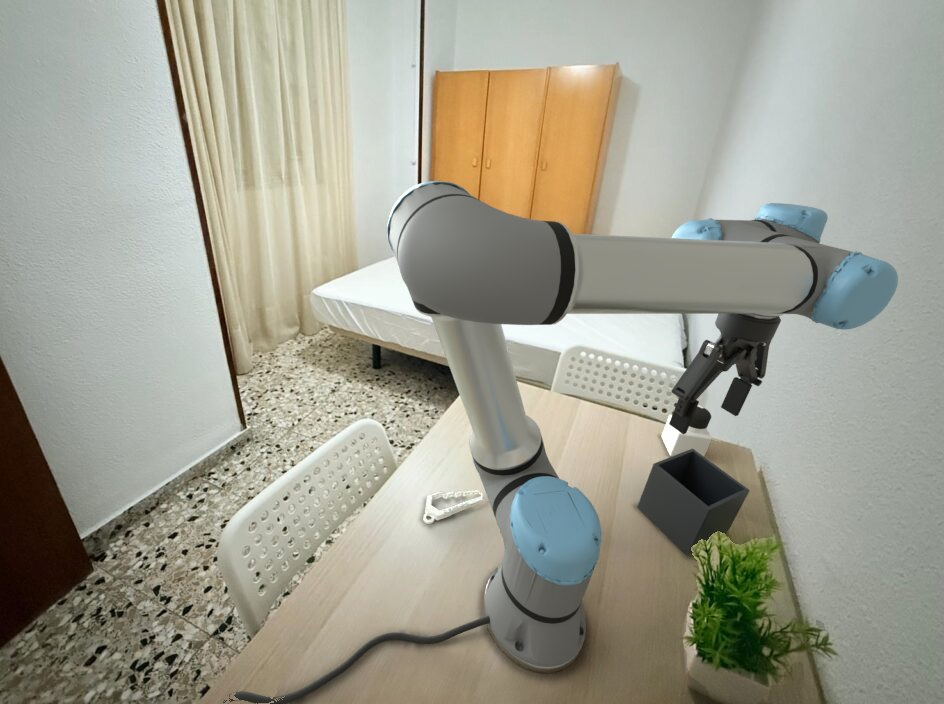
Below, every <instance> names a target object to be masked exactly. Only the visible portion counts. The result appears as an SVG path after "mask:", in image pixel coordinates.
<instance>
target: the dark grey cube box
mask: <svg viewBox="0 0 944 704" xmlns="http://www.w3.org/2000/svg"><path fill="white" fill-rule="evenodd" d="M750 491H751V490H750V489H749V488H747V487H746V486H745V485H744V484H742V483H741V482H740V481H738V480H736V479H735V478H734V477H733V476H731V475H730V474H728V473H727V472H726V471H724V470H723V469H722V468H720V467H719V466H717V464H715V463H713V462H712V461H711V460H709V459H708V458H706V456H705V457H704V456H702V455H701V454H699V453H698V452H697V451H695V450H694V449H690V450H687V451H685V452H682V453H680V454H677V455H675V456H669V457H667V458H663V459H661V460H659V461H657V462H654V463H653V464H652V467H651V469H650V473H649V474H648V477H647V480H646V483H645V485H644V488H643V491H642V493H641V496H640V498H639V501H638V504H637V506H636V508H637V509H638V510H639V511H640V512H641V513H642V514H643V515H644V516H645V517H646V518H647V519H648V520H649V521H650V522H651V523H652V524H653V525H654V526H655V527H656V528H657V529H658V530H659V531H661V532H662V534H664V536H665V537H666V538H668V540H670V541H671V542H672V544H674V545H675V546H676V547H677V548H678V549H679V551H680V552H682V553H683V554H684V555H685V556H686V557H687V556H690V555H691V554H693V553H694V552H692V551H691V547H692V546H693V545H695V544H697V543H698V541H699V540H701V539H703V540H706V541H707V540H708V539H709V537H710V536H711V535H712V534H713V533H715V532H717V531H720V532H722V533H725V534H726V535H727V534H728V532H729V530H730V529H731V526H732V525H733V524H734V521H735V519H736V517H737V516H738V514H739V512H740V510H741V508H742V506H743V505H744V502H745V501H746V498H747V497H748V495H749V493H750Z"/></svg>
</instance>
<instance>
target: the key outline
mask: <svg viewBox="0 0 944 704" xmlns="http://www.w3.org/2000/svg"><path fill="white" fill-rule="evenodd" d="M478 494H479V495H480V496H478V497H475V498H472V499H469V500H466V501H463V502H460V503H458V504H455V505H452V506H449V507H446V508H444V509H438V508H436V507H435V506H433V505H432V502H433V501H434V500H438V499H440V498H443V499H444V500H447V499H449V498H452V497H453V498H454V499H457V498H458V497H461V496H462V497H465V496H468V495H469V496H470V495H478ZM483 501H484V493H483V492H482V491H479V490H478V489H473V490H472V489H471V490H465V491H462V490H459V491H456V492H454V491H453V490H451V491H448V492H446V493H444V492H443V491H437V492H434V493H430V494H428V495H427V496H426V501H425V507H424V514H423V516H422V517H423V518H422V520H423V522H424V523H425V524H427V525H431V524H433V523H434V522H435V521H440V520H443V519H446V518H448V517H451V516H452V515H454V514H458V513H459V512H462V511H464V510H466V509H469V508H470V507H472V506H475V505H478V504H480V503H483ZM428 517H430V518H431V519H427V518H428Z"/></svg>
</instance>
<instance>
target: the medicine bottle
mask: <svg viewBox="0 0 944 704" xmlns="http://www.w3.org/2000/svg"><path fill="white" fill-rule="evenodd" d="M672 415H673V414H668V417H667V420H666V422H665V425H664V429H663V430H662V433H661V435H660V436H661V439H662V441H663V443H664V446H665V448H666V450H667V452H668V455H669V457H672V456H675V455H677V454H680V453H682V452H685V451H687V450H690V449H694V450H695V451H697V452H698V453H699V454H701V455H702V456H704V457H705V458H706V454H707V453H708V450H709V448H710V446H711V443H712V441H713V437H712V435H711V434H710V432H709V431H708V429H707V428H708V427H709V424H710V421H711V419H712V414H711V412H710V411H709V410H708V409H707V408H705V407H704V406H702V405H700V404H698V406H697V408H696V411H695V413H694V416H693V418H692V420H691V423H690V425H689V428H688V430H687V432H686V433H685V434H682V433H681V432H679V431H678V430H676V429H675V428H674V427H672V426H671V425H669V422H670V420H671V417H672Z"/></svg>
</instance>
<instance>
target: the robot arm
mask: <svg viewBox="0 0 944 704" xmlns="http://www.w3.org/2000/svg"><path fill="white" fill-rule="evenodd" d="M828 218H829V217H828V214H827V212H826V211H825V210H822V209H820V208H817V207H812V206H808V205H801V204H792V203H780V202H770V203H765V204H764V205H762V206H761V207H760V208H759V211H758V212H757V214H756V215H755V216H754V219H749V220H748V219H714V218H706V219H695V220H689V221H687V222H684V223H683V224H681V225H680V226H679V227H677V229H676V230H675V231H674V232H673V234H672V236H671V237H656V236H655V237H654V236H635V235H634V236H633V235H632V236H631V235H608V234H588V233H572V232H571V230H570V229H569V227H568V226H567V225H566V224H564V223H562V222H560V221H555V220H552V221H551V220H538V219H531V218H526V217H522V216H519V215H515V214H513V213H512V214H511V213H508V212H506V211H503V210H501V209H498V208H495V207H493V206H492V205H489V204H488V203H486V202H484V201H482V200H480V199H478V198H476V197H475V196H473V195H471V193H470V192H469V191H467V190H466V189H465V188H464V187H462V186H460V185H459V184H456V183H454V182H450V181H443V180H441V181H439V180H432V181H431V180H429V181H425V182H421V183H418V184H416V185H414V186H411V187H410V188H409V189H407V190H406V191H405V192H403V193H402V194H401V195H400V196H399V198H398V199H397V200H396V202H395V203H394V205H393V207H392V208H391V211H390V214H389V217H388V222H387V230H386V235H387V236H386V237H387V240H388V244H389V247H390V248H391V250H392V252H393V255H394V256H395V259H396V260H395V261H396V262H397V266H398V269H399V273H400V275H401V276H400V277H401V279H402V281H403V282H404V285H405V286H406V288H407V290H408V293H409V295H410V298H411V301H412V303H413V307H414V308H415V310H416V311H417V312H418V313H420V314H421V315H424V316H427V317H430V318H431V320H432V324H433V326H434V328H435V331H436V334H437V337H438V339H439V343H440V345H441V347H442V351H443V353H444V356H445V359H446V361H447V364H448V366H449V369H450V370H449V371H450V372H451V375H452V378H453V380H454V383H455V386H456V389H457V391H458V395H459V397H460V399H461V403H462V405H463V408H464V411H465V413H466V416H467V419H468V421H469V425H470V427H471V429H472V431H471V433H470V436H469V441H468V448H469V452H470V454H471V456H472V461H473V464H474V467H475V470H476V471H477V473H478V476H479V478H480V481H481V483H482V486H483V488H484V489H483V490H484V491H485V494H486V497H487V499H488V502H489V505H490V507H491V510H492V513H493V517H494V518H495V521H496V524H497V526H498V530H499V533H500V534H501V538H502V541H503V545H504V552H503V558H502V562H501V563H500V564H499V565H498V566H497V567H496V568H495V570H494V571H493V572H492V573H491V575H490V577H489V579H488V581H487V583H486V586H485V591H484V598H483V617H480V618H478V619H475V620H473V621H469V622H466V623H464V624H462V625H459V626H457V627H455V628H452V629H450V630H448V631H445V632H444V633H440V634H438V635H437V634H436V635H432V636H420V635H415V634H411V633H405V632H395V631H394V632H388V633H383V634H381V635H378V636H376V637H373V638H372V639H371V640H369V641H367V642H366V643H365V644H364V645H362V646H361V647H360V648H359V649H358V650H357V651H356V652H354V653H353V654H352V655H351V656H350V657H349V658H347V660H345V661H344V662H343V663H342V664H340V665H338V666H337V667H336V668H334V669H333V670H331V671H330V672H328V673H326V674H325V675H323V676H322V677H319V678H318V679H316V680H315V681H313V682H311V683H310V684H308V685H306V686H305V687H302V688H301V689H298V690H296V691H293V692H290V693H287V694H283V695H280V696H279V695H278V696H272V697H273V699H271V698H270V697H271V696H267V695H261V694H257V693H254V692H251V691H250V692H249V691H244V690H243V691H242V690H239V692H238V691H235V692H236V694H235V695H234V696H235V697H236V698H238V699H239V700H238V701H242V700H244V702H247V701H248V703H251V704H256V703H257V704H258V703H269V702H271V701H274V703H270V704H288V703H289V704H290V703H292V702H294V701H297V700H300V699H302V698H304V697H306V696H308V695H310V694H311V693H313V692H315V691H316V690H318V689H320V688H321V687H323V686H324V685H326V684H328V683H329V682H331V681H332V680H334V679H335V678H337V677H338V676H340V675H342V674H343V673H344V672H346V671H347V670H348V669H349V668H350V667H352V666H353V665H354V664H355V663H357V662H358V660H359V659H360V658H361V657H363V655H365V654H366V653H367V652H369V650H371V649H373V648H374V647H376V646H377V645H379V644H382V643H384V642H388V641H403V642H409V643H414V644H418V645H419V644H420V645H433V644H439V643H443V642H445V641H447V640H450V639H452V638H454V637H457V636H459V635H460V634H462V633H463V634H464V633H466V632H468V631H471V630H473V629H476V628H479V627H482V626H485V625H486V627H487V630H488V632H489V634H490V636H491V638H492V639H493V641H494V643H495V645H496V646H497V647H498V648H499V650H500V651H501V652H502V653H503V654H504V655H505V656H506V657H507V658H508V659H509V660H510V661H512V662H514V663H515V664H516V665H518V666H519V667H522V668H524V669H526V670H528V671H532V672H535V673H541V674H551V673H556V672H557V673H558V672H560V671H563V670H565V669H566V668H567V667H569V666H570V665H571V664H572V663H574V661H575V660H576V659H577V657H578V656H579V654H580V653H581V651H582V648H583V644H584V641H585V638H586V633H587V632H586V631H587V618H586V612H585V606H584V601H583V600H584V597H585V595H586V591H587V589H588V587H589V585H590V584H589V583H590V581H591V579H592V576H593V573H594V570H595V569H596V567H597V564H598V560H599V558H600V552H601V542H602V526H601V522H600V518H599V515H598V513H597V511H596V509H595V506H594V505H593V504H592V502H591V500H589V498H588V497H587V496H586V495H585V494H584V492H582V491H581V490H580V489H579V488H577V486H573V487H572V486H569V482H568V481H566V480H564V479H562V478H560V477H559V476H558V474H557V472H556V470H555V469H554V467H553V465H552V462H551V461H550V460H549V457H548V454H547V452H546V448H545V443H544V440H543V437H542V432H541V429H540V427H539V425H538V423H537V422H536V421H535V420H534V419H533V418H532V417H530V416H528V415H527V414H526V410H525V406H524V403H523V399H522V395H521V391H520V388H519V384H518V381H517V376H516V374H515V370H514V366H513V362H512V357H511V355H510V351H509V347H508V343H507V339H506V336H505V333H504V329H503V325H512V326H552V325H556V324H559V323H560V322H561V321H562V320H563V319H564V318H565V317H566V316H567V315H574V314H575V315H604V314H605V315H606V314H607V315H620V314H621V315H632V314H633V315H639V314H640V315H641V314H643V315H644V314H645V315H647V314H648V315H657V314H658V315H660V314H661V315H662V314H663V315H668V314H669V315H670V314H674V315H675V314H677V315H678V314H682V315H683V314H684V315H695V314H699V315H701V314H705V315H707V314H711V315H712V314H713V315H714V314H717V317H716V319H715V322H714V325H715V327H716V328H717V329H718V331H719V332H720V335H719V337H718V338H717V339H716V341H715V342H713V341H711V340H709V339H705V340H703V342H702V343H701V346H700V347H699V351H698V352H697V354H696V355H695V357H694V358H693V359H692V361H691V362H690V364H689V365H688V366H687V368H686V369H685V370H684V372H683V374H682V375H681V376H680V377H679V379H678V381H677V382H676V383H675V385H674V386H673V388H672V389H671V393H672V394H673V395H675V396H676V397H678V399H677V402H676V405H675V407H674V410H673V412H672V414H671V415H672V417H671V420H670V422H669V425H671V426H672V427H674V428H675V429H676V430H678V431H679V432H681V433H682V434H685V433H686V432H687V430H688V428H689V425H690V423H691V420H692V418H693V416H694V413H695V411H696V408H697V406H698V405H699V403H700V401H699V400H698V399H699V398H700V396H702V394H703V393H704V392H705V391H706V390H707V389H708V388H709V387H710V385H712V384H713V383H714V381H715V380H716V379H717V378H718V377H719V376H720V375H721V374H722V372H728V371H729V370H730V369H731V368H732V367H733V366H734V365H735V368H736V372H737V376H738V377H737V376H735V377H733V379H732V380H731V383H730V385H729V388H728V390H727V392H726V394H725V396H724V399H723V401H722V403H721V406H720V408H721V409H723V410H724V411H726V412H728V413H729V414H731V415H733V416H734V417H738V416H739V415H740V413H741V411H742V408H743V406H744V404H745V402H746V400H747V398H748V396H749V394H750V391H751V390H752V388H753V385H754V386H756V387H760V386H761V385H762V383H763V380H762V379H764V378H765V376H766V372H767V366H768V358H769V351H770V346H771V342H772V341H773V338H774V337H775V335H776V333H777V330H778V328H779V326H780V324H781V322H782V319H781V316H784V315H798V316H803V317H805V318H808V319H809V320H810V321H812V322H813V323H815V324H821V325H825V326H827V327H830V328H833V329H837V330H844V331H845V330H852V329H856V328H859V327H862V326H864V325H866V324H868V323H869V322H871V321H872V320H874V319H875V318H877V316H879V315H880V314H881V313H882V312H883V311H884V310H885V309H886V308H887V306H888V305H889V303H890V302H891V300H892V299H893V297H894V295H895V294H896V291H897V288H898V285H899V284H898V283H899V275H898V272H897V269H896V268H895V267H894V266H893V265H892V264H891V263H890V262H887V261H885V260H882V259H879V258H875V257H872V256H869V255H867V254H863V253H862V252H861V251H857V250H856V251H851V250H847V249H843V248H838V247H835V246H831V245H826V244H823V243H821V238H822V235H823V232H824V230H825V227H826V224H827V222H828ZM232 693H233V692H232ZM232 693H230V694H228V695H229V697H230V695H231V694H232ZM266 696H267V697H266ZM284 696H285V697H284ZM278 697H281V698H282V697H284V698H282V699H283V700H282V699H281V698H278ZM276 698H278V700H279V699H280V700H279V701H278V700H277V699H276ZM229 699H230V698H229ZM274 699H276V700H277V702H276V701H275V700H274ZM223 700H224V699H223ZM223 700H222V703H223V704H224V703H225V702H226V701H227V700H226V701H225V700H224V701H225V702H224V701H223ZM230 700H231V701H230ZM230 700H229V701H230V703H232V702H235V701H237V700H233V699H230Z"/></svg>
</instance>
